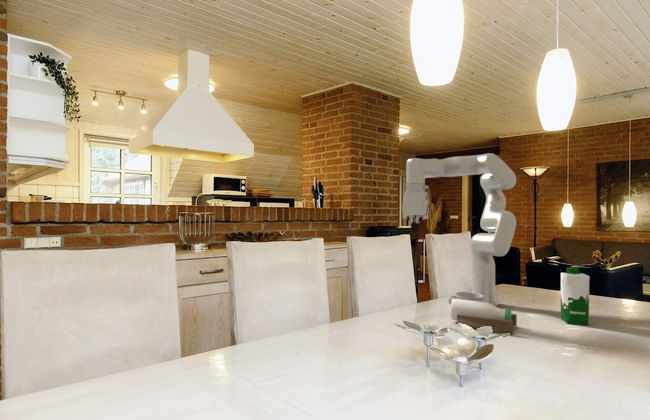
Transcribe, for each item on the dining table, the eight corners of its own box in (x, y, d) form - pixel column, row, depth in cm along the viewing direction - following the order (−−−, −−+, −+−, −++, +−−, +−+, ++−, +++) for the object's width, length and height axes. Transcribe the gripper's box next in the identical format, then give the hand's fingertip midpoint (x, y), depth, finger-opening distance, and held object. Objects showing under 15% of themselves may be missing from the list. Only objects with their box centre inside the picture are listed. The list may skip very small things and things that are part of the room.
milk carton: (583, 320, 162) (583, 267, 162) (592, 326, 153) (592, 270, 153) (558, 318, 164) (558, 266, 164) (565, 324, 155) (565, 269, 155)
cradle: (464, 320, 160) (464, 308, 160) (516, 326, 151) (516, 314, 151) (456, 327, 149) (457, 314, 149) (512, 335, 140) (512, 321, 140)
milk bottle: (450, 322, 154) (509, 330, 144) (449, 301, 154) (509, 307, 144) (455, 316, 161) (512, 323, 151) (454, 296, 161) (512, 302, 151)
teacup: (479, 311, 175) (479, 292, 175) (486, 317, 164) (486, 297, 164) (444, 310, 177) (445, 291, 177) (449, 316, 166) (450, 296, 166)
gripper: (435, 188, 175) (435, 233, 175) (401, 189, 182) (400, 232, 182) (430, 187, 168) (430, 233, 168) (395, 188, 176) (394, 232, 176)
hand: (415, 232), depth 175 cm, fingers closed
